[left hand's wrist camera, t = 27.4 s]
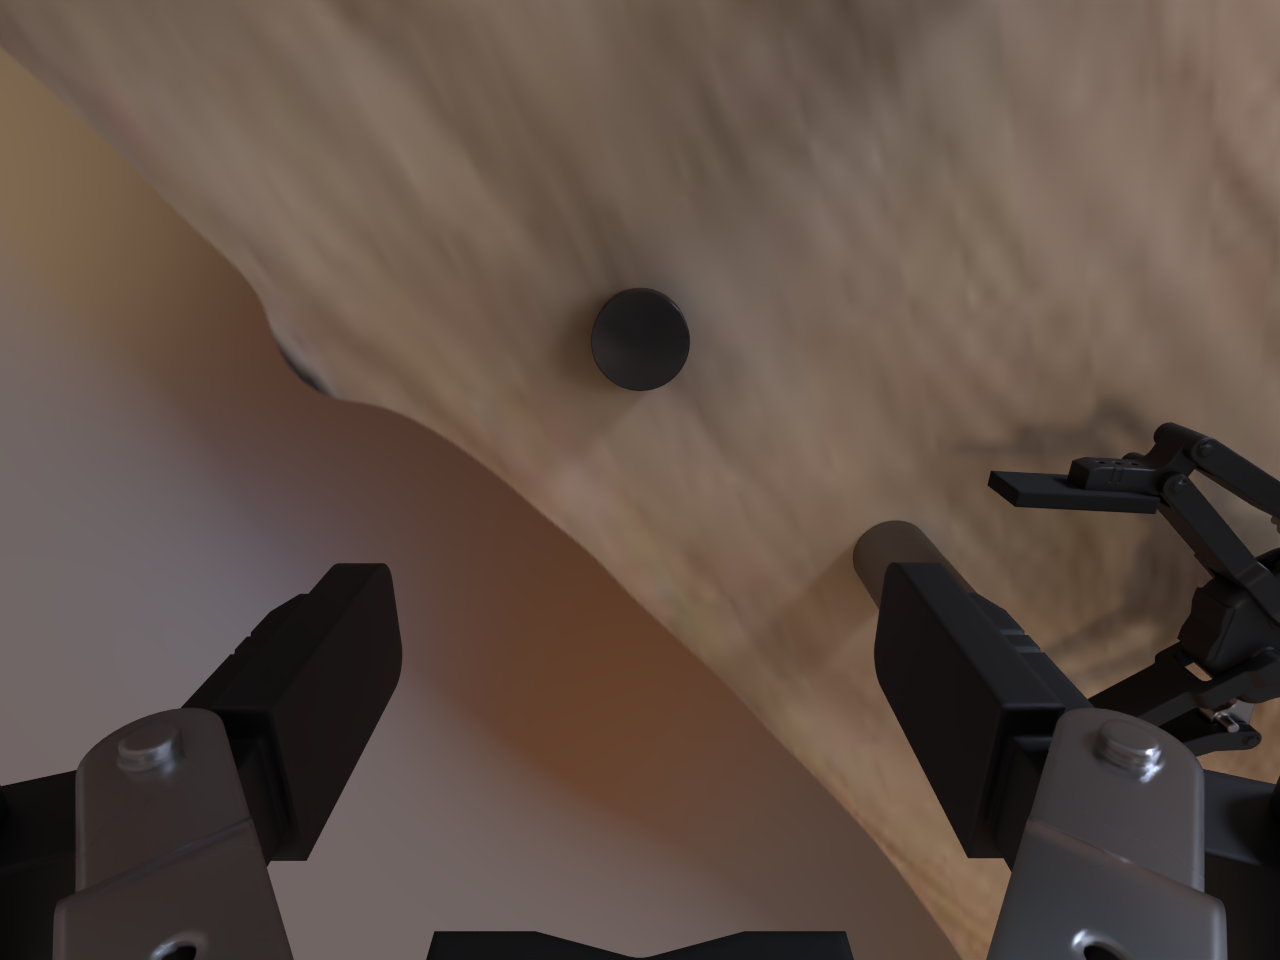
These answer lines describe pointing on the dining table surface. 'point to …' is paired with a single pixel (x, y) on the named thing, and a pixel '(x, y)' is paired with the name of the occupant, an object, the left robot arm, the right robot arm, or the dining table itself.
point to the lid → (640, 339)
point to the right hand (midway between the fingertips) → (969, 612)
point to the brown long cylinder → (895, 554)
